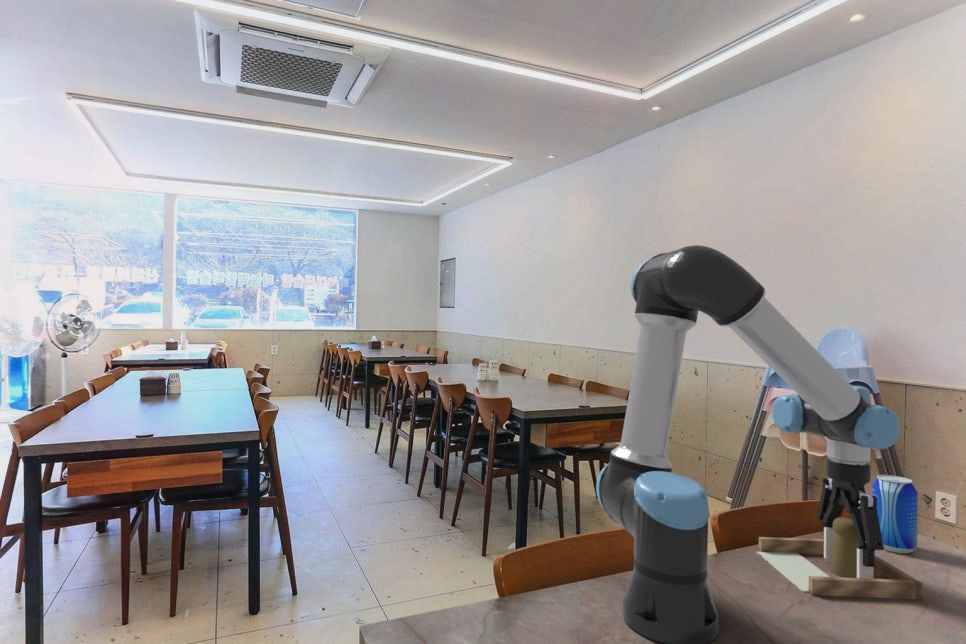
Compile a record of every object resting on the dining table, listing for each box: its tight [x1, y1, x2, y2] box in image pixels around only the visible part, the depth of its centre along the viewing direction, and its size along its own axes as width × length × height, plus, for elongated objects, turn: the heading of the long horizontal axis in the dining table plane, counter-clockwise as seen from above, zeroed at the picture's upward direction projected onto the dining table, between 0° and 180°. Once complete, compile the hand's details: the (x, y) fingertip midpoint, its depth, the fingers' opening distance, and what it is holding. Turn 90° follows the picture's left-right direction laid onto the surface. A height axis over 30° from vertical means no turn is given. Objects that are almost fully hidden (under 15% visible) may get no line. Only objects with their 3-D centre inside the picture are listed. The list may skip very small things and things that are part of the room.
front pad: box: [756, 551, 831, 593], centre depth 111 cm, size 9×18×1 cm, turn 178°
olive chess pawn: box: [829, 516, 860, 578], centre depth 111 cm, size 6×6×11 cm
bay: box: [758, 536, 923, 601], centre depth 111 cm, size 20×21×3 cm
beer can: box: [871, 474, 919, 554], centre depth 125 cm, size 8×8×16 cm
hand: (847, 569), depth 111 cm, fingers open, 10 cm apart
